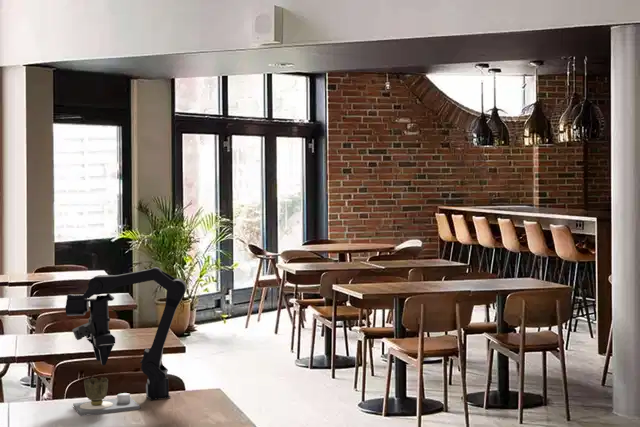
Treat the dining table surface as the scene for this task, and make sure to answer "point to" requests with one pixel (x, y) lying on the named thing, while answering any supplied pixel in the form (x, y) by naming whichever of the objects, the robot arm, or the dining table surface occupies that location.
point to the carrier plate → (108, 405)
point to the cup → (96, 390)
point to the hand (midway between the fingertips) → (100, 362)
